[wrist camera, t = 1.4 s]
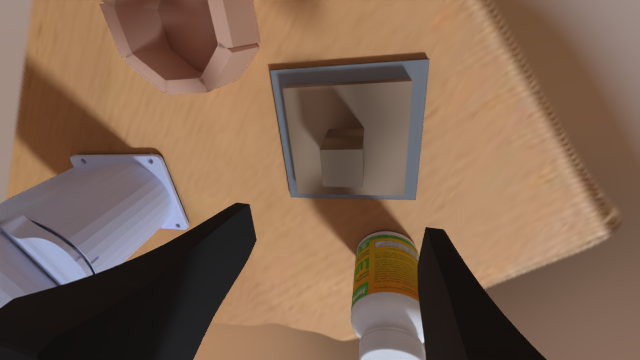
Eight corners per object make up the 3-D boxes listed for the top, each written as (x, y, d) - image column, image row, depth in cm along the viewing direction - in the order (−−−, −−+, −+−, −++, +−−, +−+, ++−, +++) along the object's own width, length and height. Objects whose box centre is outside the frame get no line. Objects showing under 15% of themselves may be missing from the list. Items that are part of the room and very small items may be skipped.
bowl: (177, 83, 20) (136, 96, 17) (138, -35, 17) (78, -49, 13) (266, 78, 19) (242, 90, 15) (244, -52, 16) (207, -73, 12)
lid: (300, 187, 22) (285, 221, 19) (286, 85, 19) (263, 102, 15) (402, 188, 21) (409, 226, 17) (410, 78, 17) (421, 94, 13)
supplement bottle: (360, 224, 24) (352, 333, 15) (424, 234, 23) (452, 354, 15) (352, 267, 26) (342, 380, 18) (409, 278, 26) (426, 399, 18)
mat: (292, 194, 23) (290, 197, 23) (271, 69, 19) (270, 70, 18) (414, 197, 21) (415, 200, 21) (428, 58, 17) (429, 59, 16)
